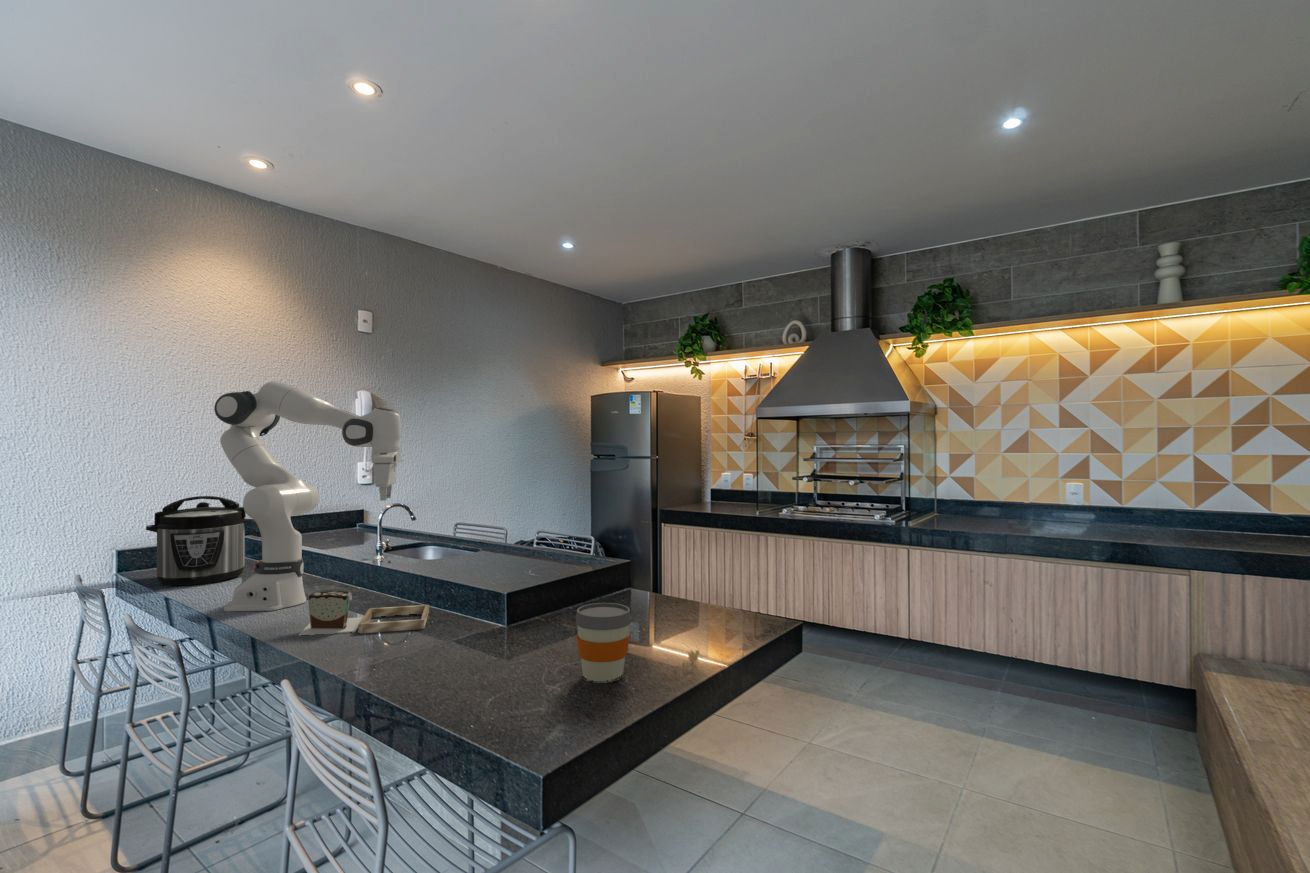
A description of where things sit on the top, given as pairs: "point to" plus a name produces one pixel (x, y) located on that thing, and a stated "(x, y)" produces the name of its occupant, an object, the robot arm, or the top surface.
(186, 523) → the pressure cooker
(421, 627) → the frame
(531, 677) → the top surface
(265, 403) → the robot arm
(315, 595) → the food container
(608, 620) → the reusable coffee cup
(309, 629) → the mat
